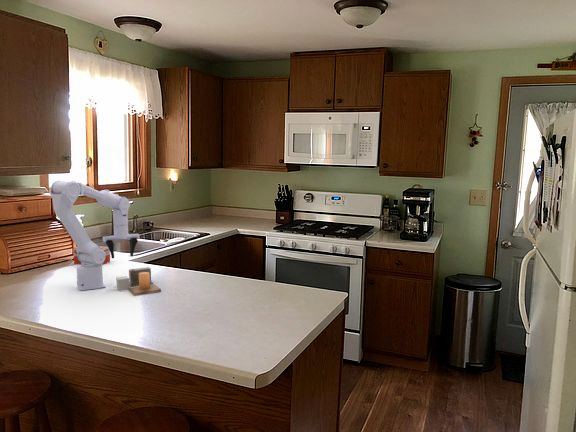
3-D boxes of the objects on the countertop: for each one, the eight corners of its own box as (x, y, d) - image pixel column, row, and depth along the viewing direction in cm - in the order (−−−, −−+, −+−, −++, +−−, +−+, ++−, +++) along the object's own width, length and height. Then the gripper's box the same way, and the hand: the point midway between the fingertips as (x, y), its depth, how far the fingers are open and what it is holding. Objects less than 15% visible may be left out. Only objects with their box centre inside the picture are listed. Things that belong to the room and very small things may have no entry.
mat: (134, 295, 177) (133, 293, 177) (128, 290, 185) (128, 287, 185) (160, 291, 182) (160, 289, 182) (154, 286, 190) (154, 284, 190)
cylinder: (143, 290, 181) (142, 275, 180) (137, 288, 183) (136, 273, 182) (152, 288, 184) (151, 272, 183) (146, 286, 186) (145, 271, 185)
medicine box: (110, 262, 236) (109, 246, 235) (101, 265, 228) (100, 249, 227) (83, 260, 239) (82, 245, 238) (73, 264, 232) (72, 248, 231)
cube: (118, 291, 184) (118, 279, 183) (116, 288, 187) (116, 277, 187) (129, 289, 186) (129, 278, 185) (127, 287, 189) (126, 276, 189)
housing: (130, 287, 189) (129, 271, 189) (127, 284, 193) (127, 269, 192) (153, 283, 194) (152, 268, 193) (150, 281, 198) (149, 266, 197)
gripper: (136, 222, 207) (137, 253, 208) (100, 225, 200) (102, 257, 201) (140, 224, 201) (141, 256, 202) (103, 227, 194) (105, 260, 195)
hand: (122, 256), depth 201 cm, fingers open, 7 cm apart
